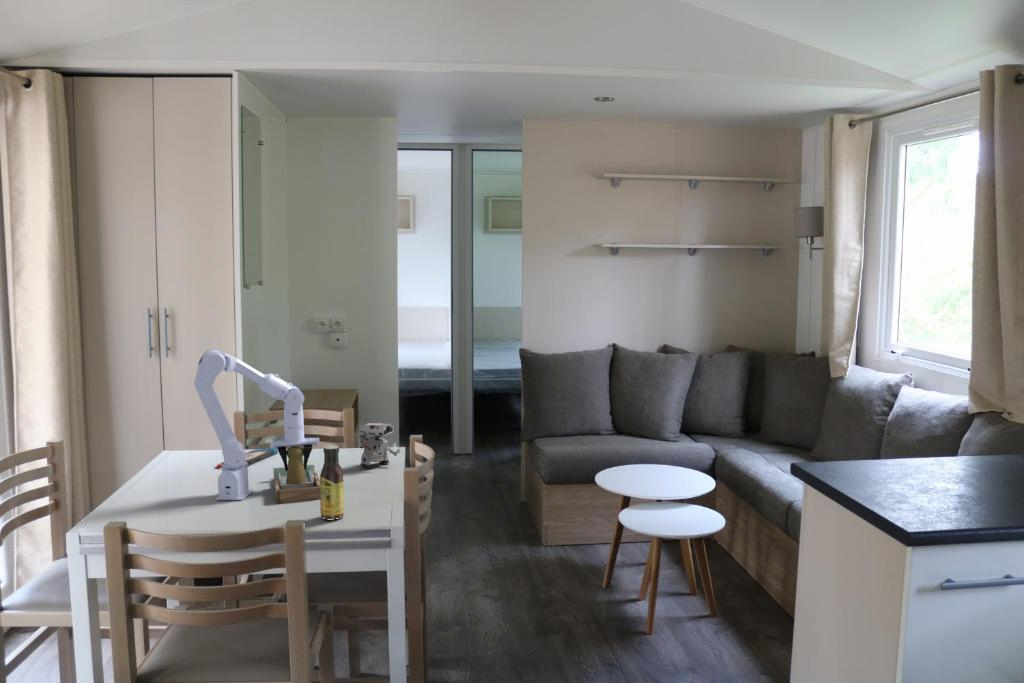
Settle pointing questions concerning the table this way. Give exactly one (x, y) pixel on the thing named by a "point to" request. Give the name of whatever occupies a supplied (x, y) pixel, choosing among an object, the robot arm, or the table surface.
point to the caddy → (297, 492)
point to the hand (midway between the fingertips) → (295, 469)
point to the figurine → (376, 444)
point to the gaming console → (256, 455)
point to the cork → (295, 466)
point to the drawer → (282, 477)
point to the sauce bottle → (331, 485)
